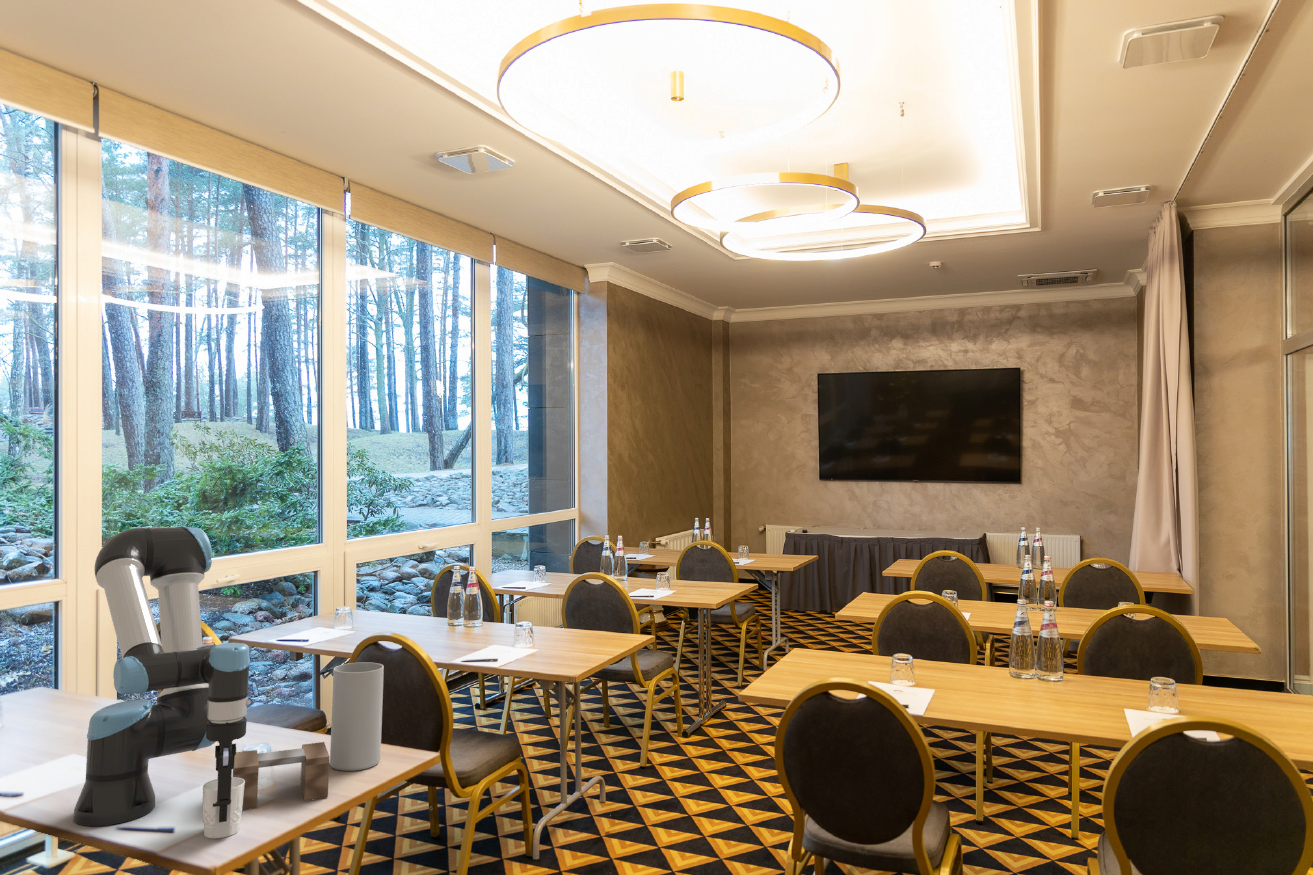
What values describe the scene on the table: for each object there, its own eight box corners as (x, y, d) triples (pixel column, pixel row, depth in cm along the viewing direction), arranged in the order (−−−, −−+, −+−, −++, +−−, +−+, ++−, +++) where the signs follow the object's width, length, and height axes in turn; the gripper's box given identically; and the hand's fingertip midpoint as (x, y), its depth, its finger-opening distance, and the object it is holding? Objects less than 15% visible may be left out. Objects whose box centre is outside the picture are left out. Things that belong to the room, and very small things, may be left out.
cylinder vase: (361, 774, 210) (364, 674, 212) (319, 768, 214) (323, 670, 215) (389, 758, 222) (393, 664, 224) (349, 753, 226) (353, 660, 227)
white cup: (250, 825, 178) (252, 777, 178) (228, 841, 170) (230, 791, 171) (215, 823, 179) (218, 775, 179) (192, 838, 171) (194, 789, 171)
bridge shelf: (232, 811, 185) (234, 768, 186) (231, 793, 196) (233, 752, 196) (327, 797, 194) (329, 756, 195) (322, 780, 205) (324, 741, 205)
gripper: (247, 729, 168) (242, 844, 167) (245, 704, 187) (241, 808, 185) (205, 733, 165) (200, 851, 164) (207, 708, 183) (202, 814, 182)
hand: (222, 828), depth 174 cm, fingers closed on white cup, 8 cm apart
